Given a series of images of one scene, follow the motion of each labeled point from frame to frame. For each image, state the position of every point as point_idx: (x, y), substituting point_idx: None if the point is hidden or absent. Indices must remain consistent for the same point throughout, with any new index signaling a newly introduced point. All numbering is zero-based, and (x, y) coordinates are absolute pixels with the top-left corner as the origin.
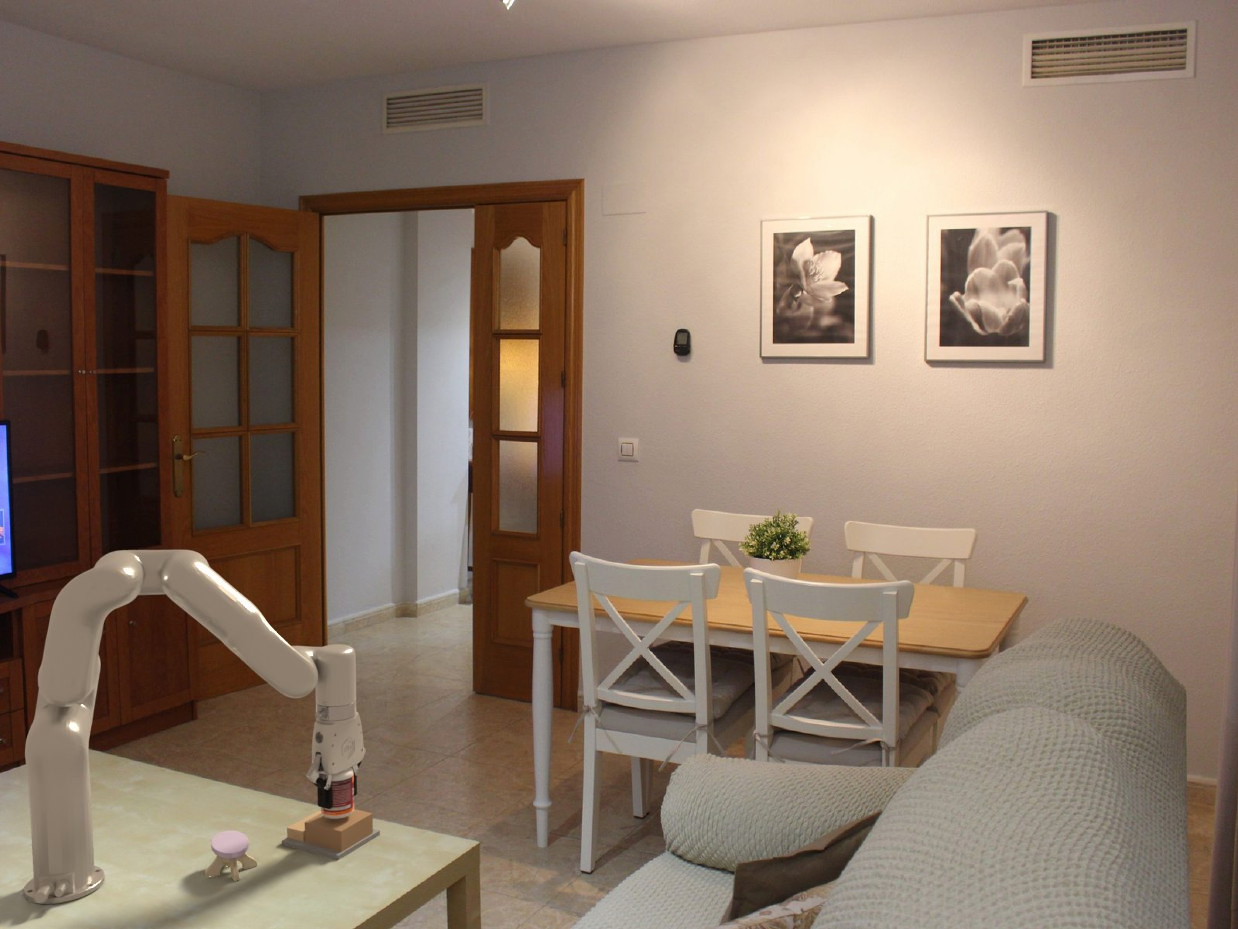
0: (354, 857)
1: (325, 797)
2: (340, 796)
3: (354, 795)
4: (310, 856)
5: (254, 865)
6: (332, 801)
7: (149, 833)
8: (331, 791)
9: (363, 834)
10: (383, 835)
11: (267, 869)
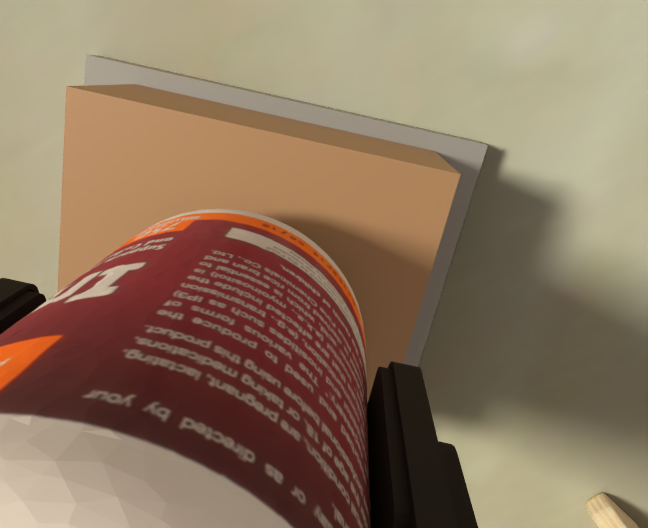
0: (429, 61)
1: (456, 496)
2: (324, 355)
3: (33, 291)
4: (463, 313)
5: (611, 502)
6: (388, 398)
7: None
8: (426, 497)
9: (220, 106)
10: (97, 26)
11: (630, 436)
